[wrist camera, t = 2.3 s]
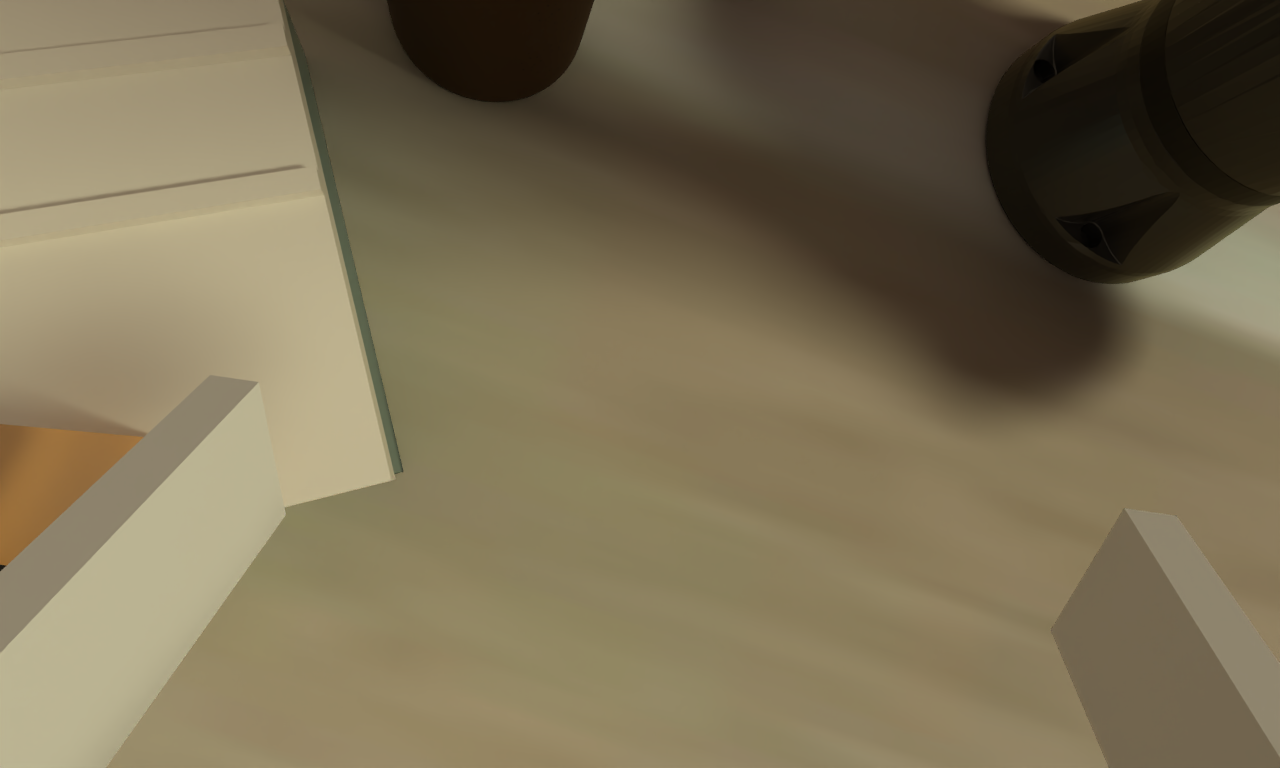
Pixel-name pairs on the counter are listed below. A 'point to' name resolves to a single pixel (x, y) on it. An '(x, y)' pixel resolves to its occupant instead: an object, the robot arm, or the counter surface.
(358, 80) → the counter surface
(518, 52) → the olive oil
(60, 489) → the lid
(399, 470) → the tub
